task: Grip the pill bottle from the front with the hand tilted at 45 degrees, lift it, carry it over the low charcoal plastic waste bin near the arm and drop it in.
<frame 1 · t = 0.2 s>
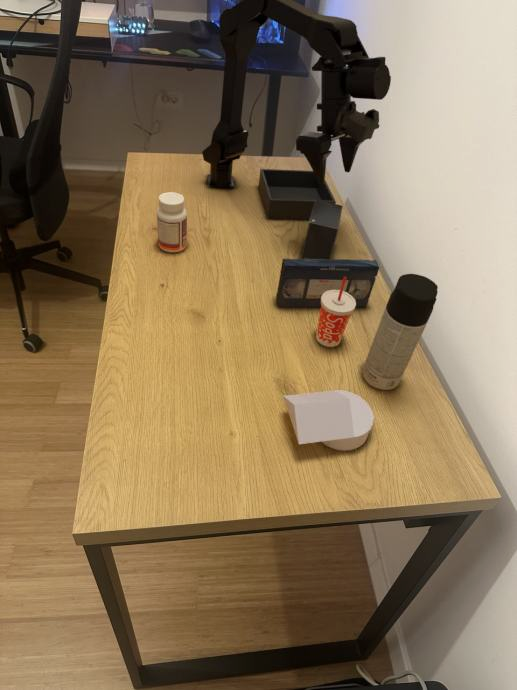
hand: (334, 177, 107), 15 cm above the table, tool pointing down, fingers open, 9 cm apart
small box: (317, 255, 112), on the table
vhs cassette tape: (321, 304, 100), on the table
pill bottle: (172, 246, 109), on the table
spray can: (380, 377, 87), on the table
bin: (293, 203, 128), on the table
beverage cup: (328, 338, 93), on the table
wedge on round base: (327, 428, 78), on the table
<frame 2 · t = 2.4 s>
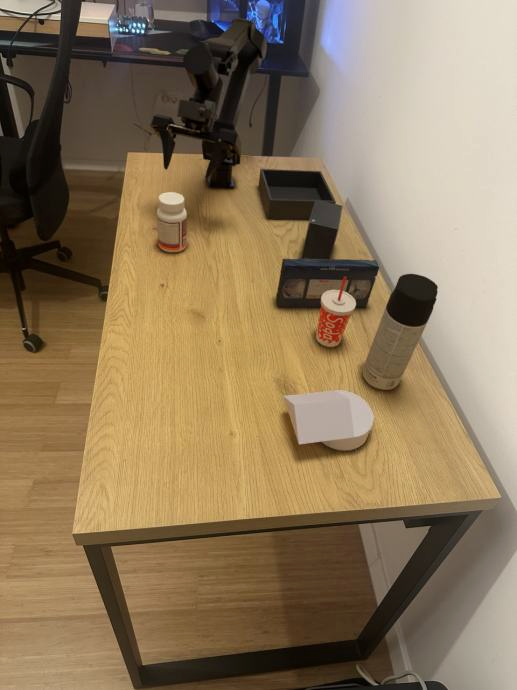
hand: (185, 173, 105), 13 cm above the table, tool tilted 45°, fingers open, 9 cm apart
nothing on the table moved.
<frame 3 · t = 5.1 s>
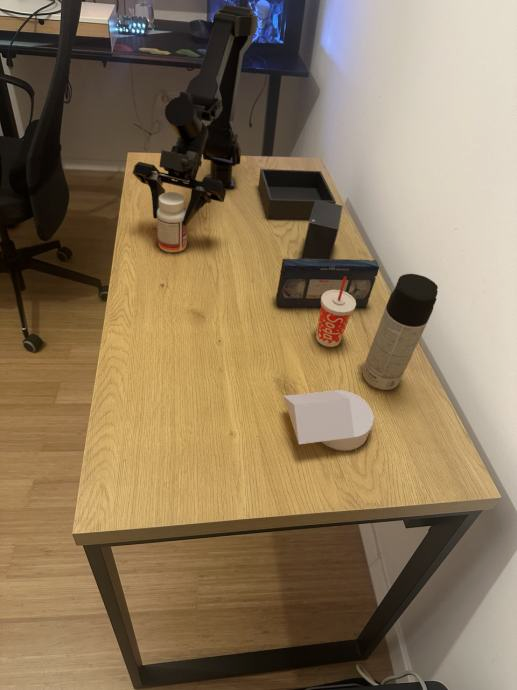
hand: (169, 221, 103), 7 cm above the table, tool tilted 45°, fingers closed on pill bottle, 6 cm apart
pill bottle: (172, 246, 109), on the table, touching gripper
everything else where it was.
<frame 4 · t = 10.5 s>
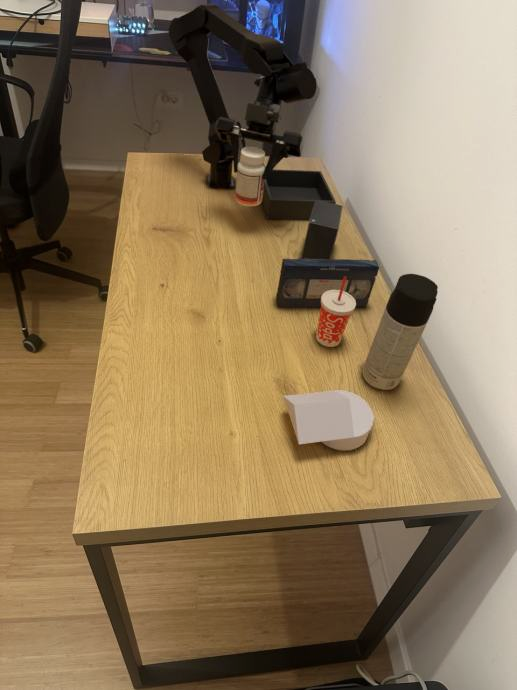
hand: (249, 175, 107), 13 cm above the table, tool tilted 45°, fingers closed on pill bottle, 6 cm apart
pill bottle: (248, 201, 113), point 7 cm above the table, touching gripper
everything else where it was.
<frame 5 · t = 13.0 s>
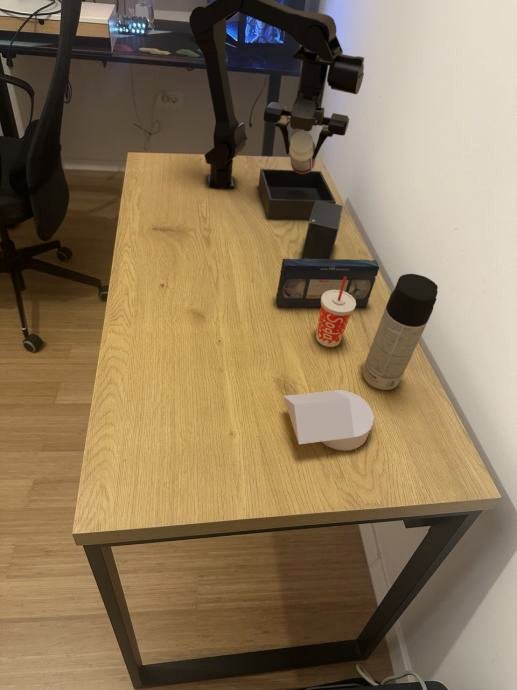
hand: (300, 156, 119), 13 cm above the table, tool pointing down, fingers closed on pill bottle, 6 cm apart
pill bottle: (303, 163, 125), point 9 cm above the table, touching gripper
everything else where it was.
when the fingers open (7 cm above the table, at t = 15.7 s): pill bottle moves 2 cm, resting on bin.
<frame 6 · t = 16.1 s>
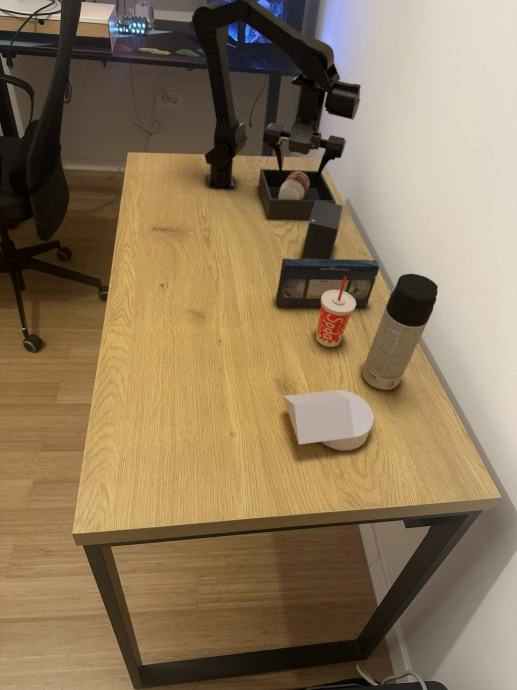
hand: (298, 174, 123), 8 cm above the table, tool pointing down, fingers open, 9 cm apart
pill bottle: (298, 182, 129), point 4 cm above the table, touching bin
everything else where it was.
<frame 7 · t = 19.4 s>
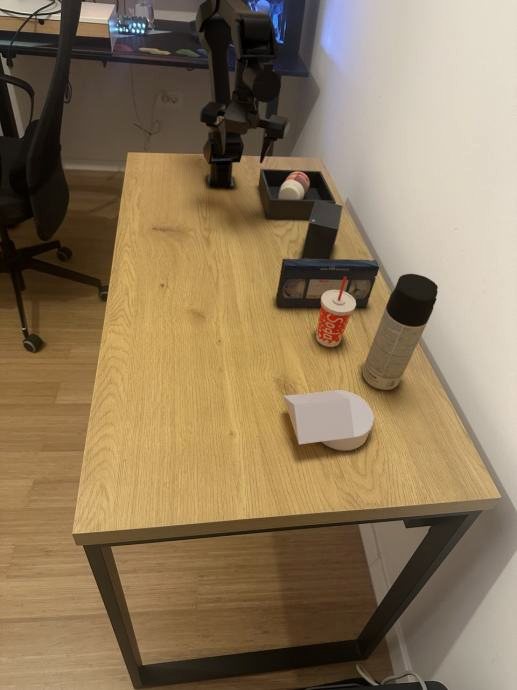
hand: (241, 158, 114), 13 cm above the table, tool pointing down, fingers open, 9 cm apart
nothing on the table moved.
at the end: pill bottle inside the target area in the bin (4.2 cm from its centre), point 3.6 cm above the bin's base; the gripper is holding nothing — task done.
